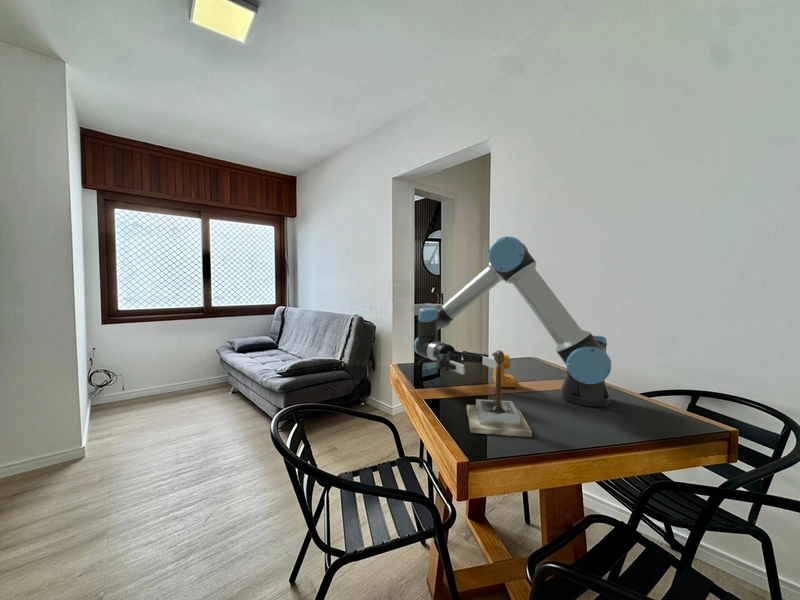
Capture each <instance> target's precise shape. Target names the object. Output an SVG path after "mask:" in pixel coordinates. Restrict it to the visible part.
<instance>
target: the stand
mask: <svg viewBox="0 0 800 600" xmlns="http://www.w3.org/2000/svg"><path fill="white" fill-rule="evenodd" d="M515 408H516V409H517V411H518V413H519V415H520V427H517V426H503V425H489V424H479V420H478V416H477V412H476V404H466V413H467V414H466V415H467V418H468V425H469V430H470V433H471V434H472V433H473V434H484V435H496V436H497V435H501V436H510V437H511V436H514V437H523V438H524V437H525V438H532V437H533V431H532V430H531V427H530V425H529V423H528V422H527V420H526V419H525V417H524V415H523V414H522V412H521V410H520V409H519V407H515ZM483 411H484V410H483ZM484 412H490V411H484ZM505 413H507V414H509V412H505Z"/></svg>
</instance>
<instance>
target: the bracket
mask: <svg viewBox="0 0 800 600" xmlns="http://www.w3.org/2000/svg"><path fill="white" fill-rule="evenodd" d="M504 356H505V359H504V362H503V363H502V364H501V367H502V368H501V388H503V387H504V388H517V387H518V381H517V380H516V379H515V377H514V376H513V375H512V374H510V373H509V374H508V373H505V369H506V370H509V369H510V368H511V358H510V355H509V354H504ZM492 371H493V372H492V379H493V381H494V384H495V385H496V369H494V368H493V370H492Z"/></svg>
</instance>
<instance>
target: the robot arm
mask: <svg viewBox="0 0 800 600" xmlns="http://www.w3.org/2000/svg"><path fill="white" fill-rule="evenodd" d="M487 259H488V266H487V267H485V268H484V269H483V270H482V271H481V272H480V273H478V274H477V275H476V276H475V277H474V278H473V279H471V281H469V282H468V283H467V284H465V285H464V286H463V287H462V288H461V289H460V290H459V291H457V292H456V293H455V294H454V295H453V296H452V297H450V298H449V299H448V300H447V301H446V302H444V304H442V305H441V306H440V307H439V308H438V309H437V308H436V307H435V308H433V307H421V308H420V309H419V311H418V318H417V320H418V322H417V323H418V329H417V330H418V336H417V338H415V340H414V342H413V345H412V347H413V350H414V352H415V353H416V354H418V355H419V356H421V357H423V358H426V359H428V360H431V361H433V362H434V363H436V365H437V368H438V369H439V370H443V369H444V371H445V372H449V371H453V372H454V373H455V372H456V373H458V374H460V375H462V376H463V375H465V371H466V370H465V367H466V366H465V365H464V364H463V363H466V362H467V363H468V362H469V363H474V364H475V363H476V364H477V363H478V364H482V365H483V366H486V367H489V368H492V369H493V370H494V369H496V366H498V363H496V361H495V360H494V358H490V357H489V354H487V353H479V352H478V353H476V352H471V351H466V350H462V351H458V350H456V349H455V348H454V346H453V345H451V344H448V343H444V342H442V341H440V340H438V330H441V329H443V328H447V327H448V326H450V324H451V322H453V321H454V320H455V319H456V318H457V317H458V316H460V315H461V314H462V313H463V312H465V311H466V310H467V309H468V308H469V307H471V306H472V305H473V304H474V303H476V302H477V301H478V300H479V299H480V298H481V297H483V296H484V295H486V293H488V292H489V291H490V290H491V289H493V288H494V287H495V286H497V284H499V283H500V282H502V281H504V282H505V283H508V284H511V285H513V286H514V288H515V289H516V290H517V292H518V293H519V294H520V296H521V297H522V298H523V300H524V301H525V303H526V304H527V305H528V307H529V308H530V309H531V311H532V312H533V314H534V315H535V316H536V317H537V319H538V320H539V322H540V324H542V325H543V327H544V328H545V330H546V332H548V335H550V337H551V338H552V339H553V342H555V344H556V348H555V352H556V353H557V354H558V356H559V357H560V359H561V360H562V361H563V363H564V364H565V366H566V376H565V378H564V380H563V382H562V384H561V387H560V394H559V396H560V397H561V398H562V399H563V400H565V401H566V402H569V403H572V404H575V405H578V406H584V407H591V408H592V407H593V408H603V407H607V406H609V405H610V398H611V397H610V394H609V391H608V387H607V383H606V381H605V380H606V379H607V378H608V377H609V375H610V374H611V371H612V360H611V357H610V356H609V355H608V353H607V347H608V343H607V338H606V337H605V336H602V335H593V334H592V333H591V332H590V331H588V330H583V329H582V328H581V327H580V326H579V324H578V323H577V322H576V320H575V319H574V318H573V317H572V315H571V314H570V312H568V310H567V309H566V307H565V306H564V304H563V303H562V302H561V301H560V299H559V298H558V297H557V296H556V294H555V293H554V292H553V290H552V289H551V288H550V286H549V285H548V283H547V282H546V281H545V280H544V279H543V277H542V276H541V275H540V273H539V271H538V270H537V269H536V267H537V262H536V260H535V258H533V256H532V255H531V253H530V252H529V249H528V247H527V246H526V245H525V243H523V242H521V240H520V239H518V238H516V237H514V236H502V237H499V238H497V239H496V240H494V241H493V242H492V243H491V245H490V246H489V249H488V251H487ZM461 363H462V364H461Z"/></svg>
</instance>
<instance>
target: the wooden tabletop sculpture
mask: <svg viewBox="0 0 800 600" xmlns="http://www.w3.org/2000/svg"><path fill="white" fill-rule="evenodd" d="M504 355H505V354H504V351H502V350H500V349H499V350H496V351H495V352H492V357H493V359H494V360H495V361H496V363H498V366H496V384H495V391H494V399H493V400H494V403H493V407H492V408H491V410H490V412H492V413H505V411H504V409H503V408H502V401H503V400H502V387H501V368H502V367H501V364H502V363H503V362H504V359H505V356H504ZM495 400H496V404H495ZM500 403H501V406H500ZM494 404H495V406H494Z"/></svg>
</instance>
